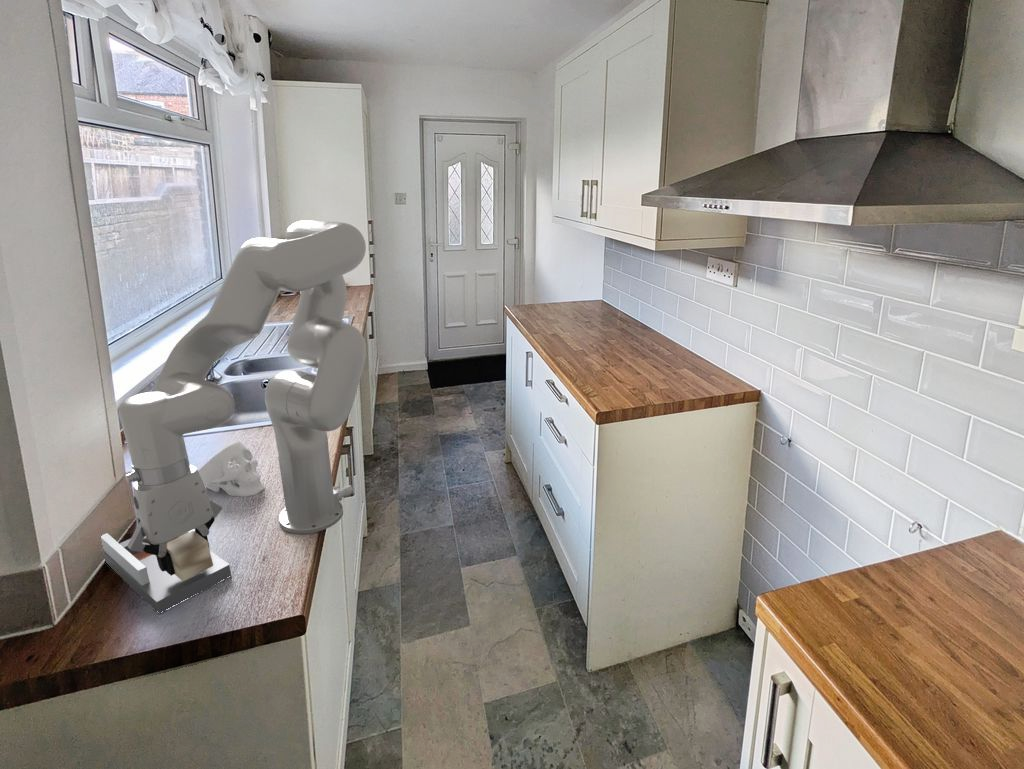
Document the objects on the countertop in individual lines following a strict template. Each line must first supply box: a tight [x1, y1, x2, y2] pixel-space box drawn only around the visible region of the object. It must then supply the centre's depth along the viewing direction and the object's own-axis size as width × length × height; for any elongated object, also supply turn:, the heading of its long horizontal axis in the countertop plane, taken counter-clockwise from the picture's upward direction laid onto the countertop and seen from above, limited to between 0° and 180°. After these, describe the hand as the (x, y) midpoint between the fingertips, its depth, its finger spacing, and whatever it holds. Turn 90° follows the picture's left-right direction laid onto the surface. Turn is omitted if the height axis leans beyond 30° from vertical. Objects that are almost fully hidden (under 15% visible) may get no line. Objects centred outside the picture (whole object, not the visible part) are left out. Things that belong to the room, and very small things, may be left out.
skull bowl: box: [198, 440, 265, 498], centre depth 131 cm, size 10×14×12 cm
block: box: [167, 531, 213, 581], centre depth 98 cm, size 5×5×5 cm
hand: (186, 561), depth 99 cm, fingers closed on block, 5 cm apart
